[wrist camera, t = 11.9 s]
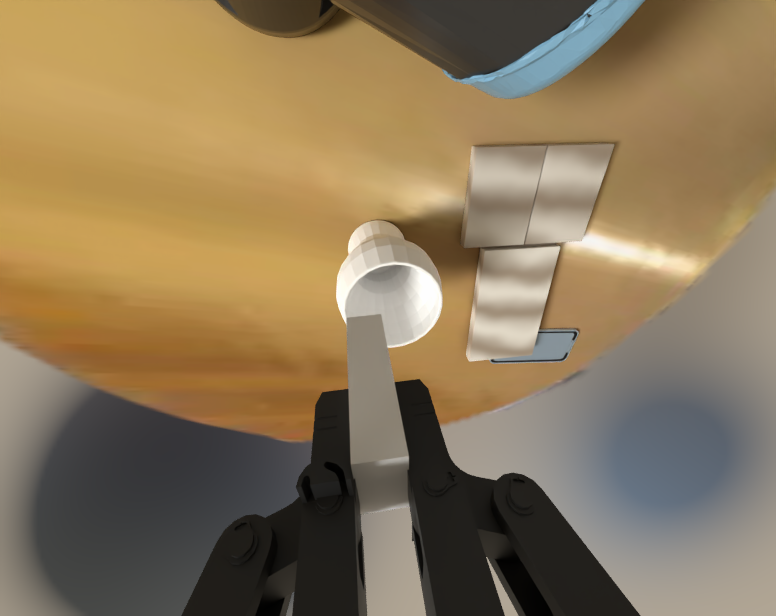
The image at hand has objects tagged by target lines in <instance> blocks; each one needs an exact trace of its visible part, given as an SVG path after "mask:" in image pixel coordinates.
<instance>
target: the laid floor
mask: <svg viewBox="0 0 776 616" xmlns="http://www.w3.org/2000/svg"><path fill="white" fill-rule="evenodd" d="M614 145H615V144H611V143H577V144H541V145H540V144H536V145H495V146H472V151H471V159H470V167H469V175H468V184H467V192H466V200H465V208H464V216H463V225H462V233H461V241H460V244H461V245H462V246H463V248H475V247H491V246H508V245H523V244H541V243H557V242H574V241H582V239H583V236H584V233H585V230H586V227H587V224H588V221H589V218H590V215H591V213H592V210H593V207H594V204H595V201H596V198H597V195H598V192H599V189H600V186H601V183H602V180H603V177H604V175H605V172H606V169H607V166H608V163H609V160H610V157H611V154H612V151H613V148H614Z"/></svg>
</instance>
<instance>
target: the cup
mask: <svg viewBox="0 0 776 616" xmlns="http://www.w3.org/2000/svg"><path fill="white" fill-rule="evenodd" d="M348 252H349V256H348V257H347V258H346V260H345V261H344V262H343V264H342V265H341V268H340V271H339V273H338V276H337V293H336V299H337V303H338V307H339V310H340V312H341V315H342V317H343V319H344V321H345V323H346V325H347V321H346V318H348V317H357V316H367V315H376V314H381V316H382V322H383V327H384V332H385V337H386V342H387V347H398V346H404V345H407V344H409V343H412V342H414V341H416V340H418V339H419V338H421V337H422V336H424V335H425V334H426V333H427V332H428V331H429V330H430V329H431V328H432V327H433V326H434V324H435V323H436V321H437V319H438V318H439V316H440V312H441V309H442V287H441V279H440V276H439V274H438V271H437V268H436V267H435V265H434V264H433V262H432V260H431V259H430V258H429V256H428V255H427V254H426V252H425V251H424V250H423V249H421V248H420V247H419V246H417V245H416V244H415V243H412V242H409V241H407V240H405V239H404V236H403V234H402V233H401V231H400V230H399V229H398V228H397V227H396V226H394V225H393V224H392V223H389V222H386V221H381V220H375V221H369V222H367V223H364V224H362V225H361V226H360V227H358V228H357V229H356V230H355V231H354V233H353V234H352V235H351V238H350V240H349V245H348Z"/></svg>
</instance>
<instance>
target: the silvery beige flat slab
mask: <svg viewBox="0 0 776 616" xmlns="http://www.w3.org/2000/svg"><path fill="white" fill-rule="evenodd" d="M559 250H560V246H559V245H557V244H556V243H541V244H523V245H508V246H491V247H480V254H479V261H478V269H477V276H476V284H475V291H474V299H473V306H472V314H471V321H470V329H469V337H468V344H467V352H466V356H467V358H468V360H469V361H479V360H489V359H499V358H508V357H518V356H528V355H532V353H533V349H534V345H535V342H536V338H537V334H538V330H539V326H540V323H541V319H542V315H543V311H544V307H545V304H546V300H547V296H548V292H549V288H550V285H551V281H552V277H553V273H554V269H555V266H556V262H557V258H558V254H559Z"/></svg>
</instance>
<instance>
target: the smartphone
mask: <svg viewBox="0 0 776 616" xmlns="http://www.w3.org/2000/svg"><path fill="white" fill-rule="evenodd" d="M577 336H578V331H577V330H576V329H574V328H562V329H539V330H538V334H537V338H536V342H535V345H534V349H533V353H532V355H528V356H518V357H508V358H499V359H489V361H490V362H491V363H493V364H499V363H540V362H562V361H564V360H566V359H567V357H568V355H569V353H570V351H571V349H572V347H573V344H574V342H575V340H576V338H577Z"/></svg>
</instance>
